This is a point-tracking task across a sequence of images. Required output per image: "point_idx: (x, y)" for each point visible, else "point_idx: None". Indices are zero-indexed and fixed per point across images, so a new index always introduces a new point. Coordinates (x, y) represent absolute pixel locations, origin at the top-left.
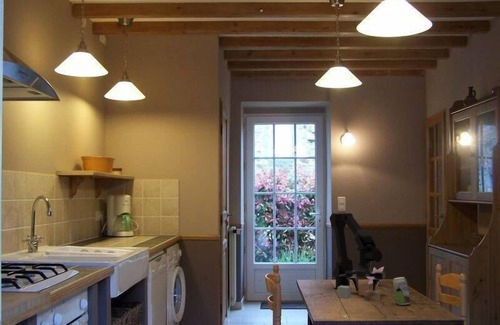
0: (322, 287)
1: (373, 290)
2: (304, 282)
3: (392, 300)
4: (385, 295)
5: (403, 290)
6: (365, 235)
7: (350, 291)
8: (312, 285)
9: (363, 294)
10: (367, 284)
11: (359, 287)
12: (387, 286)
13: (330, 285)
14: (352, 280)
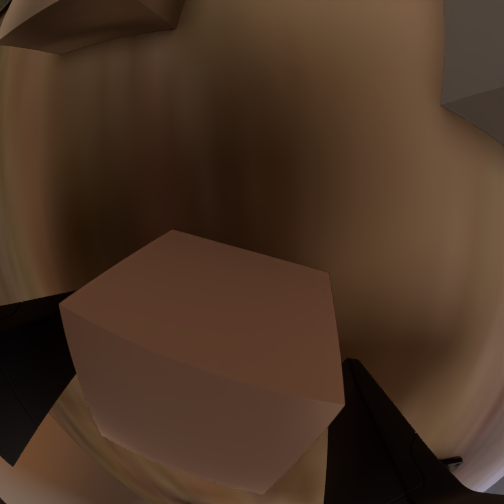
0: (490, 459)
1: (36, 12)
2: (487, 486)
3: (10, 62)
4: (51, 283)
5: None
6: None
7: (487, 62)
8: (498, 467)
9: (252, 257)
10: (139, 430)
11: (324, 348)
12: (167, 495)
13: None
14: (482, 494)
